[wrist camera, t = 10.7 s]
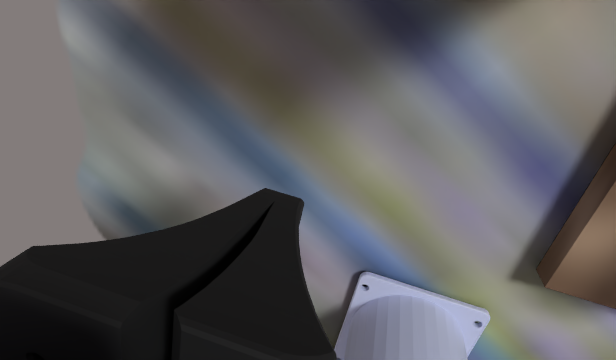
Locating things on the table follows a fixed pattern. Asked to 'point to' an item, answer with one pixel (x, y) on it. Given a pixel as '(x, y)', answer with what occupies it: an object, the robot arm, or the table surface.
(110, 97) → the table surface
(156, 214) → the table surface
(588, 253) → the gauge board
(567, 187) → the table surface
